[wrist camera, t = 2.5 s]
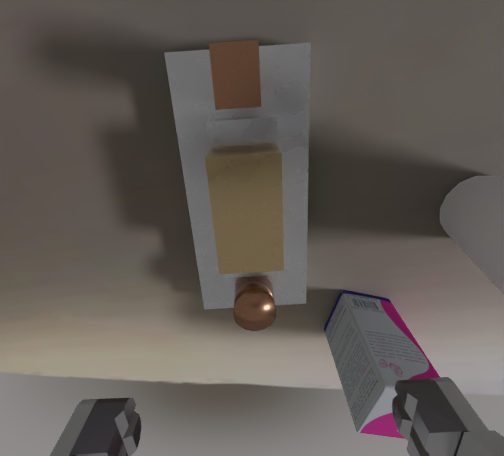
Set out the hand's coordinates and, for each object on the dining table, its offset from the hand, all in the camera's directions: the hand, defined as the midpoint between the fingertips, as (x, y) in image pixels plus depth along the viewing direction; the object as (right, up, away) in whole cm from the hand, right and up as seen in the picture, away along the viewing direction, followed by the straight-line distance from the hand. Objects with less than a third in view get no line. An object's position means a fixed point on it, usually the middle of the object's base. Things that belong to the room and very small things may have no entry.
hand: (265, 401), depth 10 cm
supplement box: (+11, -4, +24) cm, 27 cm away
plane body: (-1, +9, +18) cm, 20 cm away
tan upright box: (-1, +8, +16) cm, 18 cm away
